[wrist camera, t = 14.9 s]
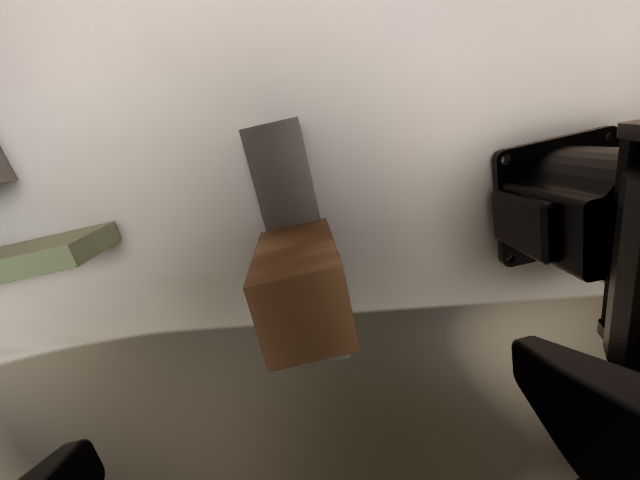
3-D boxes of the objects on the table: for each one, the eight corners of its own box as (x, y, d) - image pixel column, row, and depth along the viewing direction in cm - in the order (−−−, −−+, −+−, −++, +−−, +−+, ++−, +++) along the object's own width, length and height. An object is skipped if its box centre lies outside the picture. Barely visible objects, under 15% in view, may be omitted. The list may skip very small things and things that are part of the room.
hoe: (302, 117, 18) (309, 105, 9) (347, 326, 21) (382, 457, 13) (243, 131, 18) (195, 132, 9) (298, 337, 21) (300, 476, 13)
